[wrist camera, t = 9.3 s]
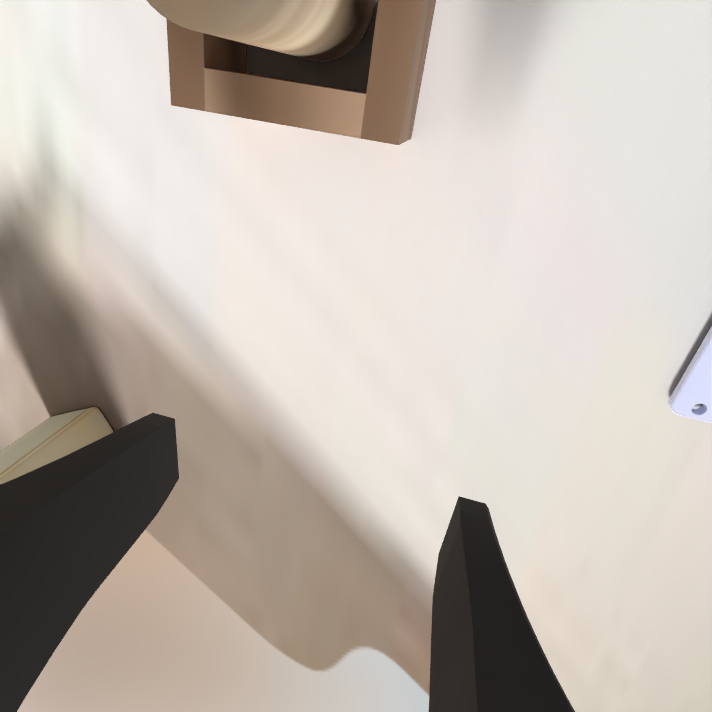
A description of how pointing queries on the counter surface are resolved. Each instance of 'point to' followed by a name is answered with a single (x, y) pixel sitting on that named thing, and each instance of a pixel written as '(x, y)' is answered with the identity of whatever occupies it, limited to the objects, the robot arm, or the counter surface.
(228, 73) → the walnut holder
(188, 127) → the counter surface
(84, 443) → the skincare box
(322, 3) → the beech peg
